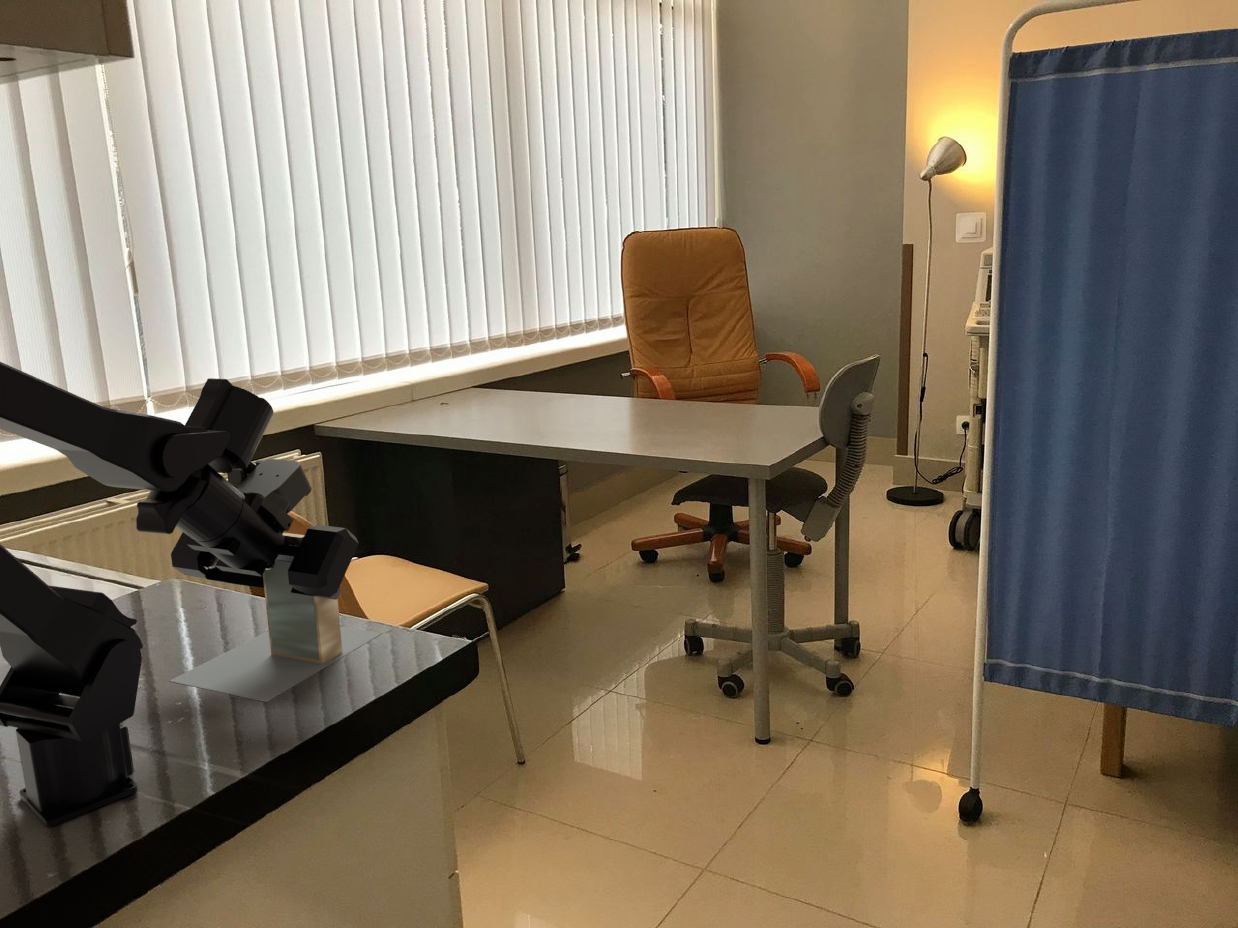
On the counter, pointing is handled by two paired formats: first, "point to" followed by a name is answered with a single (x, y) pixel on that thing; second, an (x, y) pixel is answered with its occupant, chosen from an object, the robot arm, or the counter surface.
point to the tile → (300, 619)
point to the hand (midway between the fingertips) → (310, 590)
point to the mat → (263, 667)
